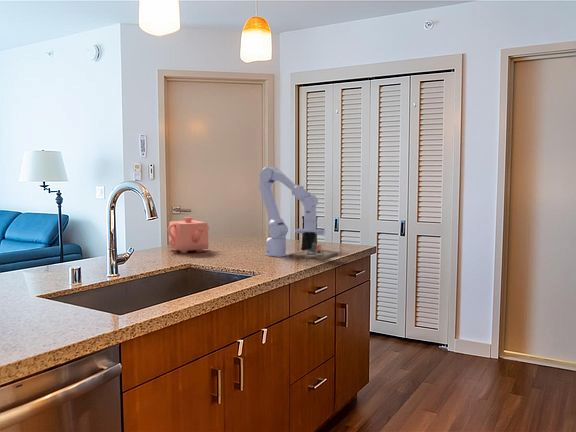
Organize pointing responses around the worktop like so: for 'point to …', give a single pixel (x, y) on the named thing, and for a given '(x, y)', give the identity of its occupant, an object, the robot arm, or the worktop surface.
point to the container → (304, 243)
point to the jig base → (313, 256)
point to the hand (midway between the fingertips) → (309, 248)
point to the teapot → (188, 235)
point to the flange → (317, 252)
